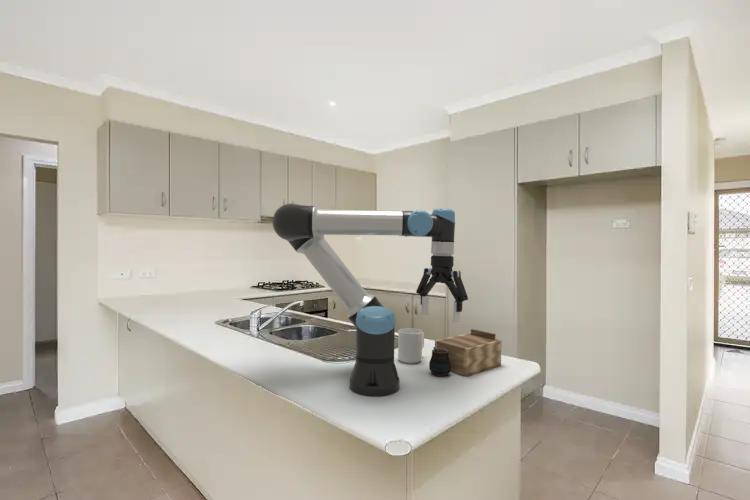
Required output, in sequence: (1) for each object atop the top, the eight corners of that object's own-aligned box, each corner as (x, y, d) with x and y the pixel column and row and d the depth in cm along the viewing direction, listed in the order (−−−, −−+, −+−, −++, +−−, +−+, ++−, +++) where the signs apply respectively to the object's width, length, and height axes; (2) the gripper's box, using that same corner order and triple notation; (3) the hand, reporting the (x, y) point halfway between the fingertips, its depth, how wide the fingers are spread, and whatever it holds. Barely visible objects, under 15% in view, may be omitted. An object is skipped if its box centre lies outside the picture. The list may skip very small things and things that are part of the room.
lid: (464, 351, 131) (464, 342, 131) (436, 344, 140) (437, 335, 140) (499, 343, 144) (499, 334, 144) (471, 336, 153) (472, 328, 153)
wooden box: (466, 376, 131) (466, 349, 130) (434, 366, 141) (434, 340, 141) (501, 365, 143) (501, 340, 143) (469, 356, 154) (469, 333, 154)
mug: (410, 366, 141) (411, 334, 141) (392, 360, 148) (393, 330, 147) (432, 359, 149) (432, 330, 149) (414, 354, 156) (414, 326, 156)
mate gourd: (454, 373, 134) (454, 343, 134) (445, 379, 128) (446, 349, 127) (434, 369, 138) (435, 340, 138) (425, 375, 132) (425, 345, 131)
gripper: (480, 257, 126) (478, 323, 127) (422, 253, 145) (420, 311, 145) (466, 257, 121) (463, 326, 122) (407, 253, 140) (405, 313, 140)
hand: (439, 318), depth 134 cm, fingers open, 13 cm apart
